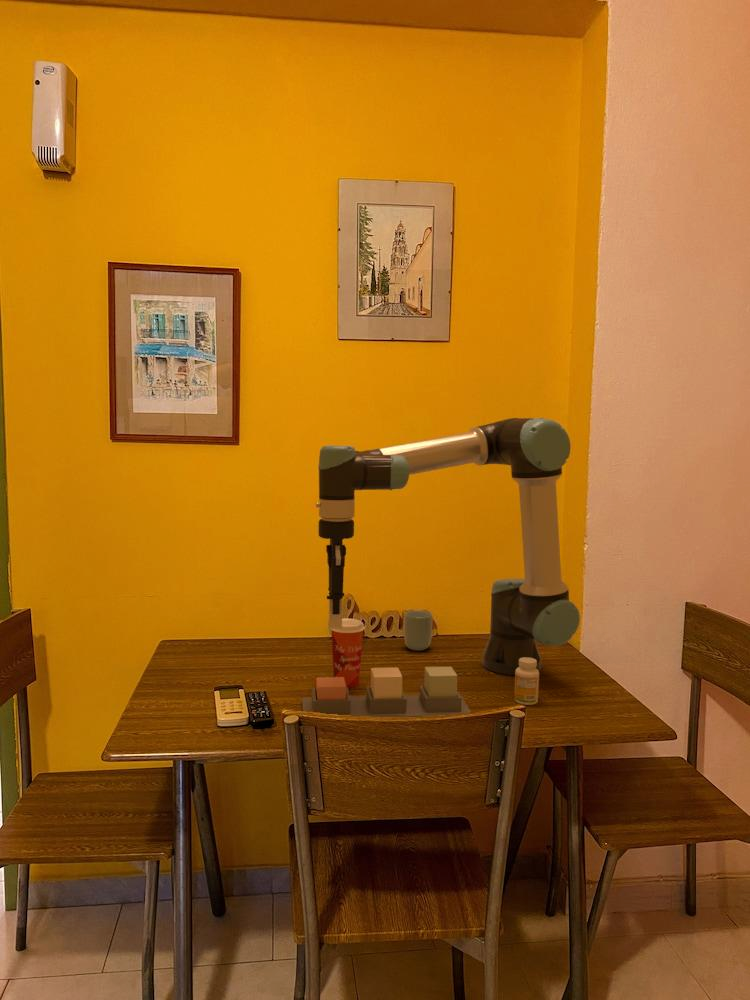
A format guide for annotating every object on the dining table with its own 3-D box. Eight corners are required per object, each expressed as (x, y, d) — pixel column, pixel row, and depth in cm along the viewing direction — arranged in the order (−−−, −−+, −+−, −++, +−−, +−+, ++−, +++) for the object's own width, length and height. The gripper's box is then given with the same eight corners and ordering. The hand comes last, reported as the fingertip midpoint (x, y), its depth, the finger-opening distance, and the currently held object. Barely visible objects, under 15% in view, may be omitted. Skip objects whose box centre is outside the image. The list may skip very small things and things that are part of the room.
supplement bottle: (521, 694, 174) (522, 654, 173) (542, 700, 171) (544, 659, 170) (509, 701, 170) (511, 660, 169) (531, 707, 167) (533, 665, 166)
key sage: (450, 688, 167) (451, 666, 166) (456, 698, 161) (457, 675, 160) (424, 688, 166) (424, 666, 166) (429, 698, 160) (429, 676, 160)
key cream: (397, 689, 165) (398, 667, 165) (401, 699, 159) (402, 676, 159) (370, 689, 165) (371, 667, 164) (373, 700, 159) (374, 677, 158)
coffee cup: (333, 690, 174) (334, 627, 173) (326, 678, 182) (327, 618, 180) (367, 687, 176) (369, 626, 175) (359, 676, 184) (360, 616, 183)
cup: (400, 651, 205) (401, 615, 204) (407, 643, 212) (408, 609, 211) (428, 654, 203) (429, 618, 202) (434, 646, 210) (435, 611, 209)
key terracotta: (343, 699, 164) (343, 677, 164) (345, 709, 158) (346, 686, 158) (316, 699, 163) (316, 677, 163) (317, 710, 157) (317, 687, 157)
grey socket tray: (459, 699, 170) (460, 681, 170) (472, 720, 159) (473, 701, 158) (302, 702, 166) (302, 684, 166) (303, 724, 154) (303, 705, 154)
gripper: (317, 514, 163) (316, 619, 166) (320, 523, 150) (319, 636, 153) (351, 514, 164) (349, 619, 167) (357, 523, 151) (355, 636, 154)
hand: (335, 627), depth 160 cm, fingers closed
